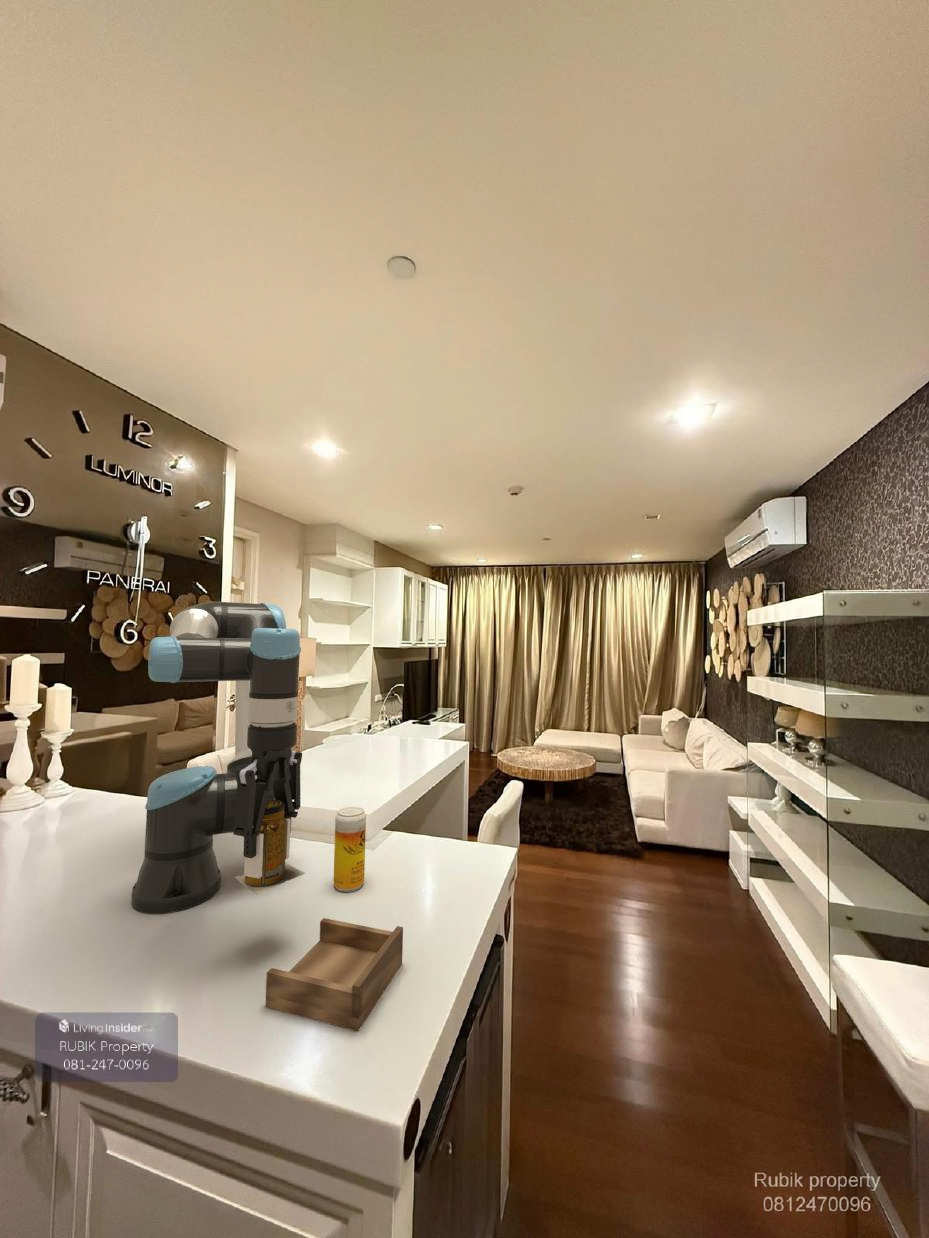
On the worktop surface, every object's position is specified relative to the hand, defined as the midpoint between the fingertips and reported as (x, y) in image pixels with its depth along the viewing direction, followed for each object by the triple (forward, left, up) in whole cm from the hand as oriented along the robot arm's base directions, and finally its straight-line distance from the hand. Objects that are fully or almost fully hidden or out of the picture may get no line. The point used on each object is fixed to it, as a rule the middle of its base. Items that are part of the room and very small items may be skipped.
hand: (267, 865), depth 80 cm
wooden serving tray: (+15, -3, -13) cm, 20 cm away
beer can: (+2, +23, -13) cm, 26 cm away
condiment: (0, +1, -2) cm, 2 cm away
